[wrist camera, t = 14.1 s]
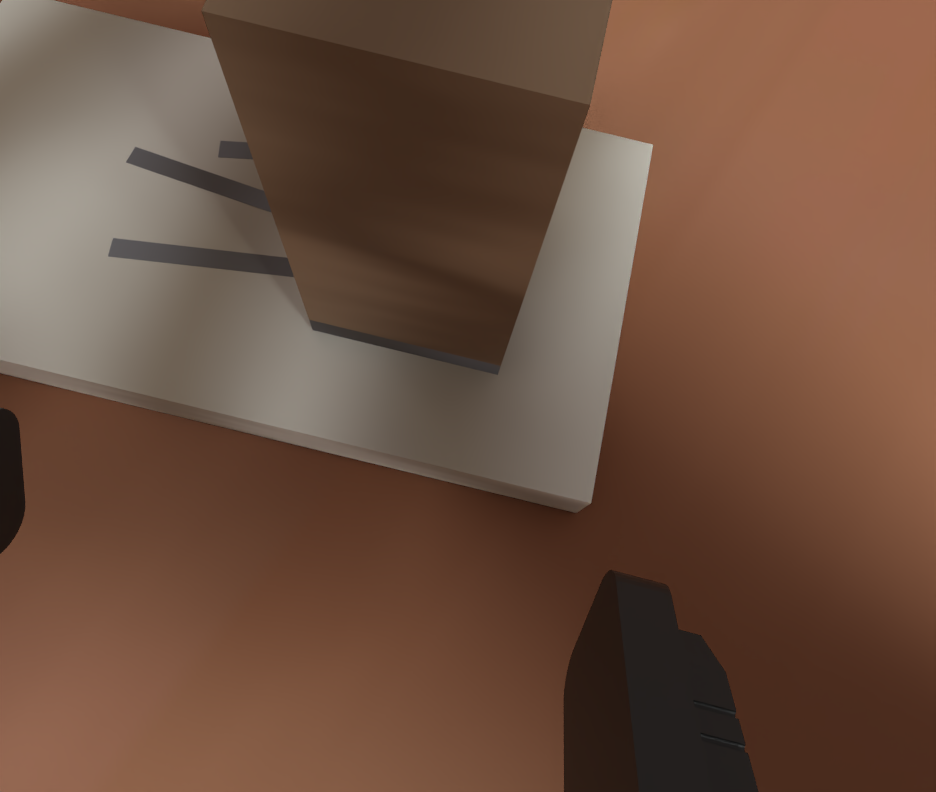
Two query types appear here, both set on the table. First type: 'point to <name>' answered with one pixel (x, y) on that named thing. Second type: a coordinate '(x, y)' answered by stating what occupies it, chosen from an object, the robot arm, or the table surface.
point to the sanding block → (412, 154)
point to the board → (271, 274)
